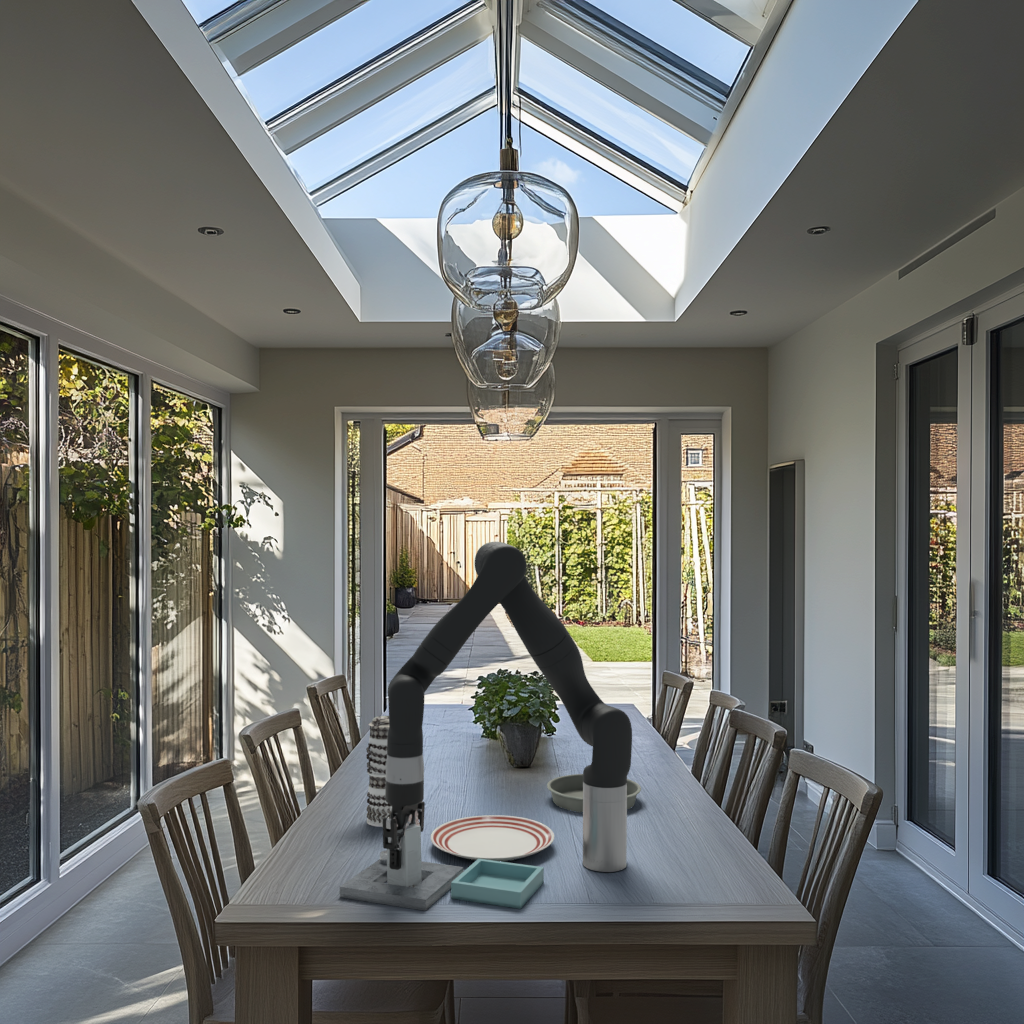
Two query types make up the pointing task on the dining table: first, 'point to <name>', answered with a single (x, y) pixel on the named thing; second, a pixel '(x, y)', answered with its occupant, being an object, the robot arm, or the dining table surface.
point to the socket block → (421, 897)
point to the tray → (497, 883)
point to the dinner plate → (492, 837)
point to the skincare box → (407, 859)
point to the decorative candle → (377, 771)
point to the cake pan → (581, 792)
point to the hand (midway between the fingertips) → (403, 862)
